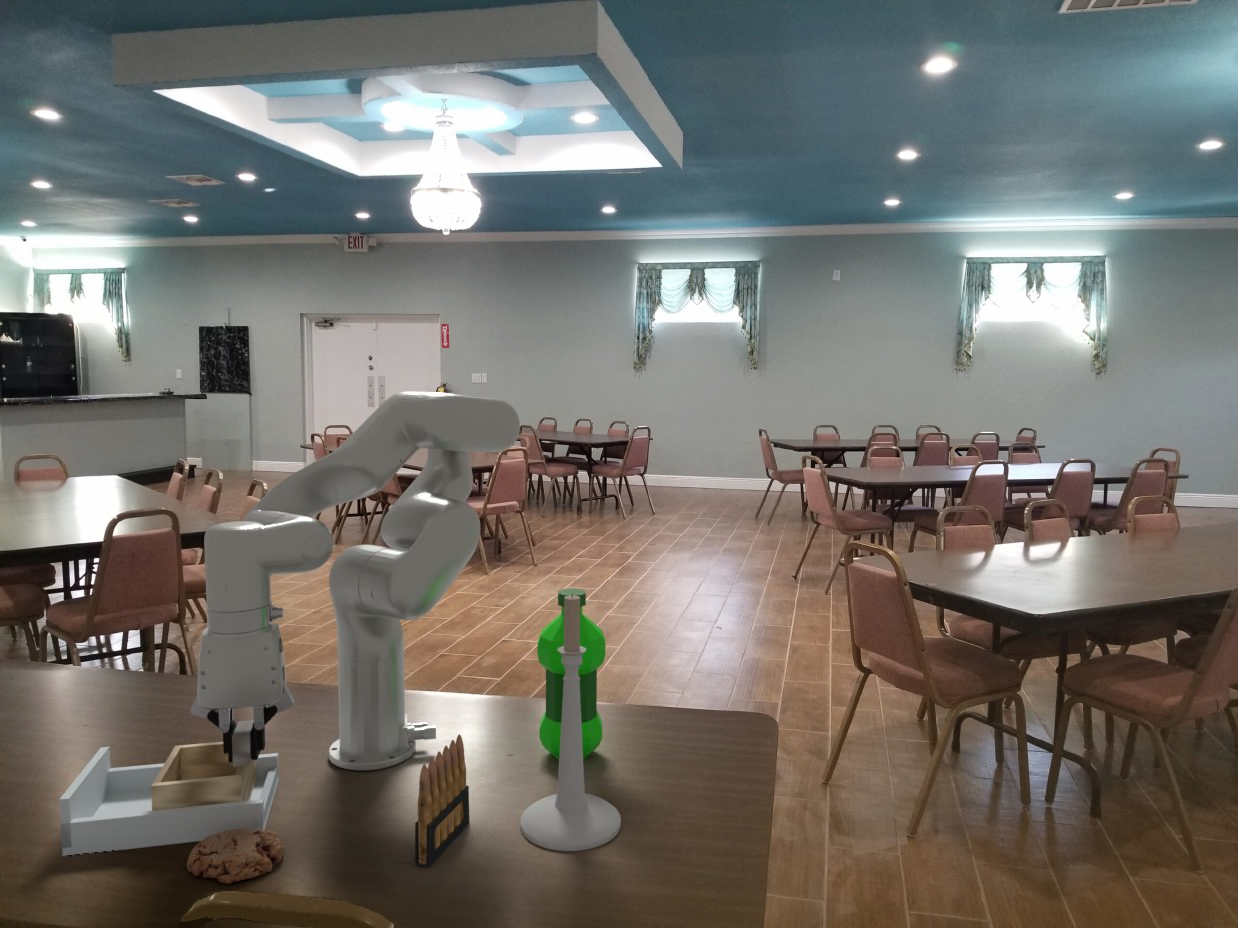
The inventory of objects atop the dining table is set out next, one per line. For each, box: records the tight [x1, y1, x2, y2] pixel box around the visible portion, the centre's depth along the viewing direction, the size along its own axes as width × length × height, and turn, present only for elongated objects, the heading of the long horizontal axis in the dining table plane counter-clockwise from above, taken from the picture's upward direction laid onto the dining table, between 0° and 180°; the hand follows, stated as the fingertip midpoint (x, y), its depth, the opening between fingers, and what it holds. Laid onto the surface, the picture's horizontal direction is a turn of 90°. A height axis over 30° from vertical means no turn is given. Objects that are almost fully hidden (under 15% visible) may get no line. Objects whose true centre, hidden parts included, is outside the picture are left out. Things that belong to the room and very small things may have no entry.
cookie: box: [186, 829, 285, 884], centre depth 100 cm, size 10×11×3 cm
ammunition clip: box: [414, 734, 470, 869], centre depth 104 cm, size 11×2×12 cm, turn 164°
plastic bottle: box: [536, 588, 607, 760], centre depth 129 cm, size 10×10×25 cm
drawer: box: [151, 719, 257, 811], centre depth 111 cm, size 11×12×10 cm
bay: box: [58, 746, 280, 857], centre depth 110 cm, size 22×15×7 cm, turn 104°
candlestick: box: [519, 594, 622, 852], centre depth 108 cm, size 13×13×30 cm
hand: (244, 755), depth 112 cm, fingers closed on drawer, 2 cm apart
